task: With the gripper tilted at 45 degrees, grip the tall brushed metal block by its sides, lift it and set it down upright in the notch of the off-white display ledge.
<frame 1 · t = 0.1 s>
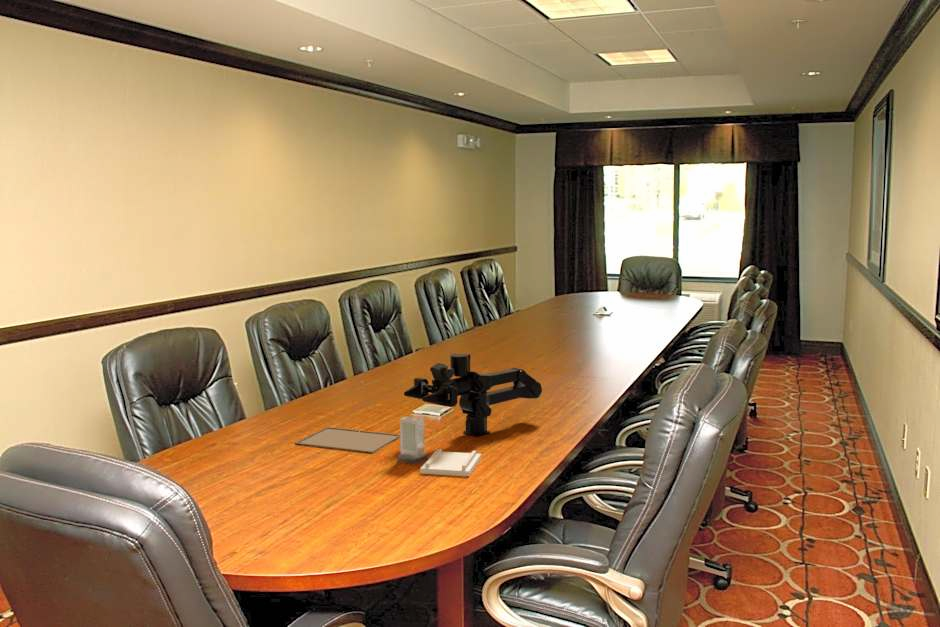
hand: (413, 396, 253), 17 cm above the table, tool horizontal, fingers open, 9 cm apart
grey flat bordered slab: (349, 442, 266), on the table
display ledge: (451, 465, 240), on the table
tall brushed metal block: (412, 460, 246), on the table
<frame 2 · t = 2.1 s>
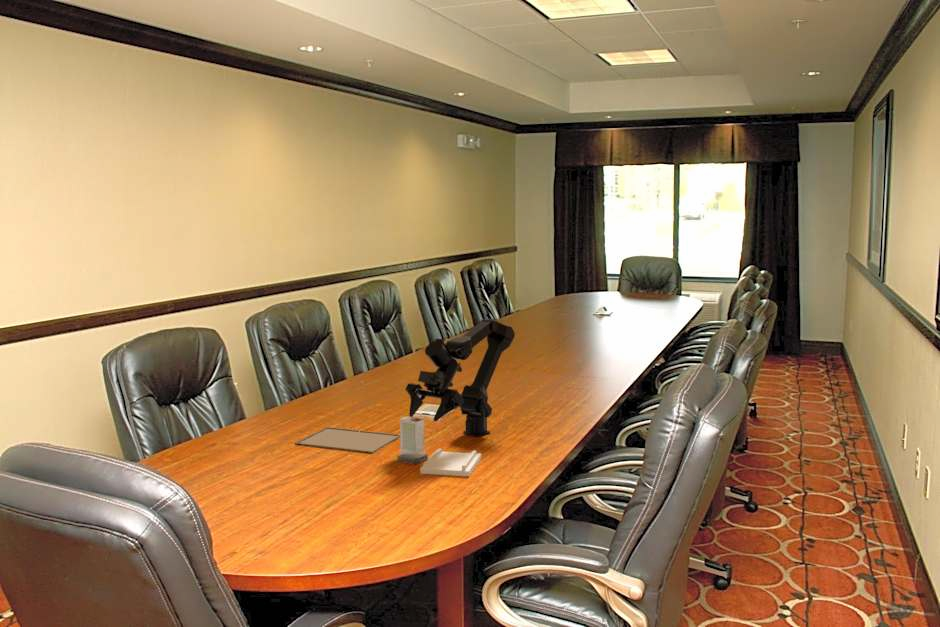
hand: (422, 418, 248), 11 cm above the table, tool tilted 45°, fingers open, 9 cm apart
nothing on the table moved.
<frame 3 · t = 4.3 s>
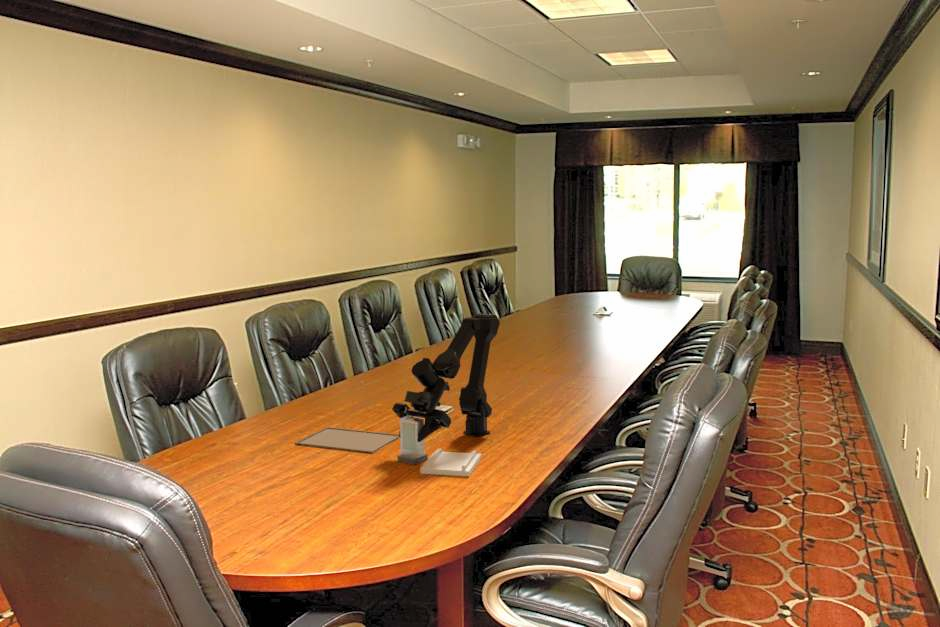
hand: (409, 439, 244), 7 cm above the table, tool tilted 45°, fingers closed on tall brushed metal block, 6 cm apart
tall brushed metal block: (412, 460, 246), on the table, touching gripper
everything else where it was.
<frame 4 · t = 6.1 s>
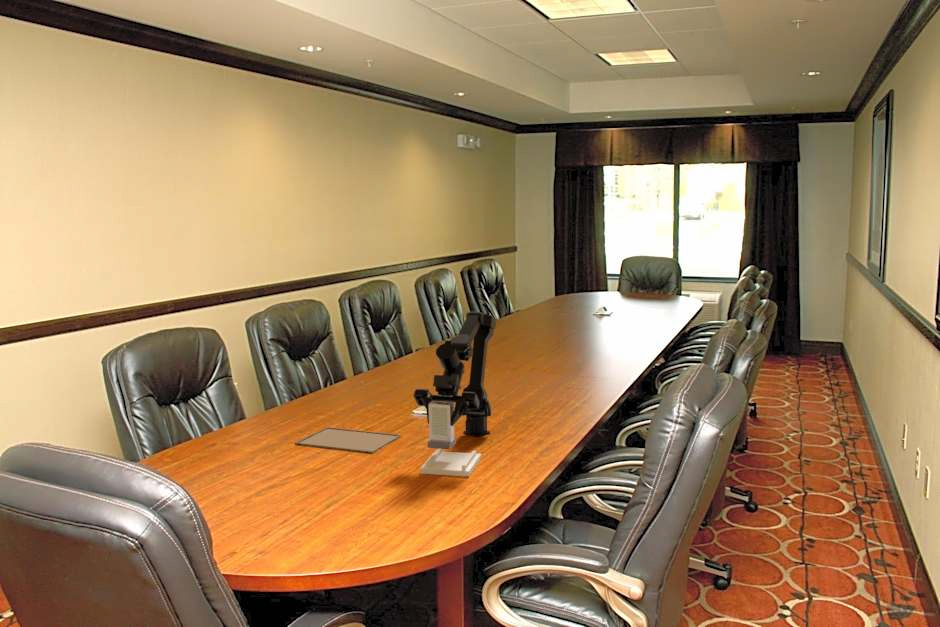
hand: (439, 424, 238), 12 cm above the table, tool tilted 45°, fingers closed on tall brushed metal block, 6 cm apart
tall brushed metal block: (441, 445, 240), point 6 cm above the table, touching gripper
everything else where it was.
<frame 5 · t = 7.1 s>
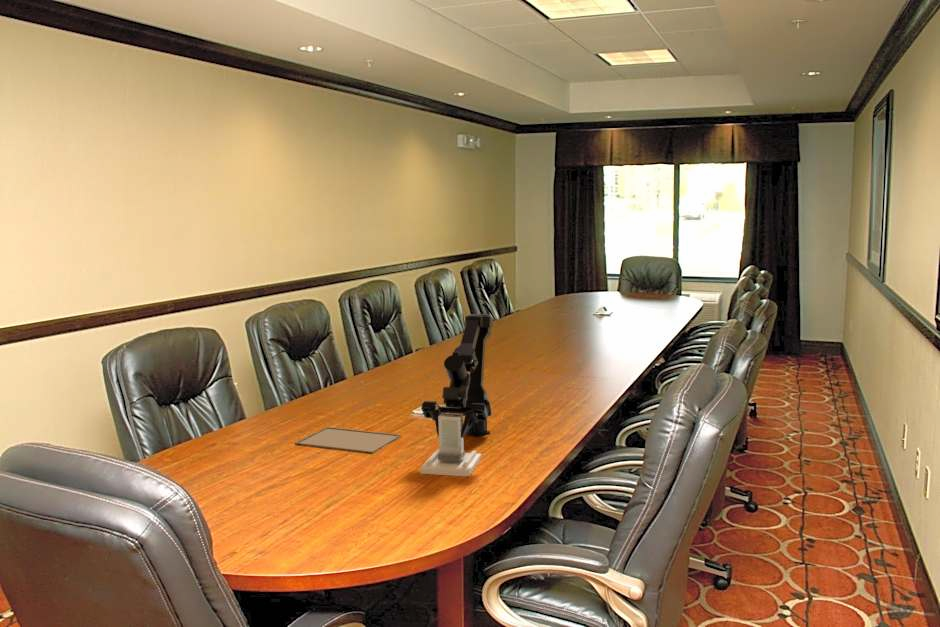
hand: (449, 436, 237), 9 cm above the table, tool tilted 45°, fingers closed on tall brushed metal block, 6 cm apart
tall brushed metal block: (451, 457, 240), point 2 cm above the table, touching gripper
everything else where it was.
when the fingers open (9 cm above the table, at t = 8.0 s): tall brushed metal block stays where it is, resting on display ledge.
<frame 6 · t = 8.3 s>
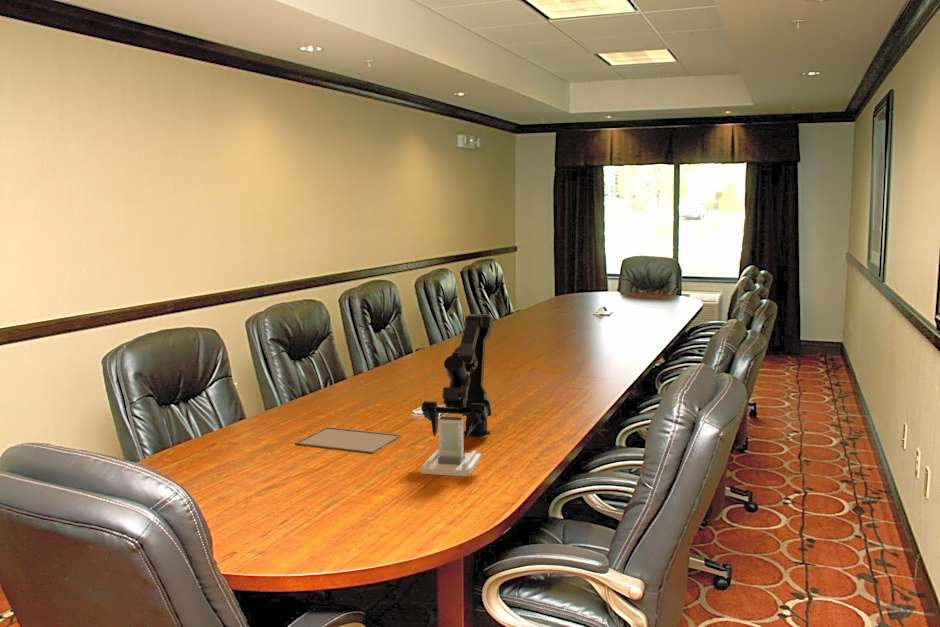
hand: (449, 436, 237), 9 cm above the table, tool tilted 45°, fingers open, 9 cm apart
tall brushed metal block: (451, 460, 240), point 1 cm above the table, touching display ledge
everything else where it was.
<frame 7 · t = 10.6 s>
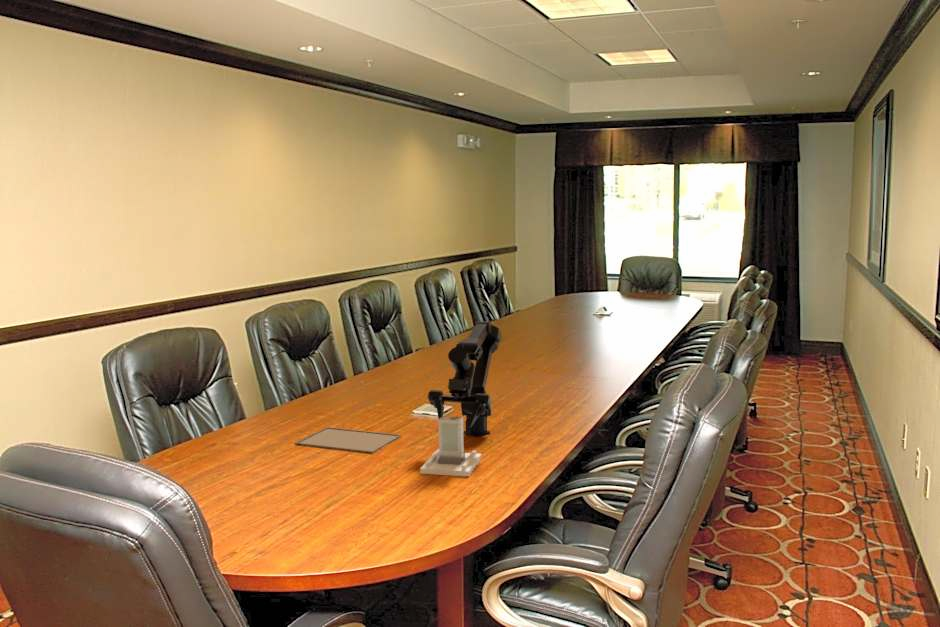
hand: (454, 425, 247), 9 cm above the table, tool tilted 40°, fingers open, 9 cm apart
nothing on the table moved.
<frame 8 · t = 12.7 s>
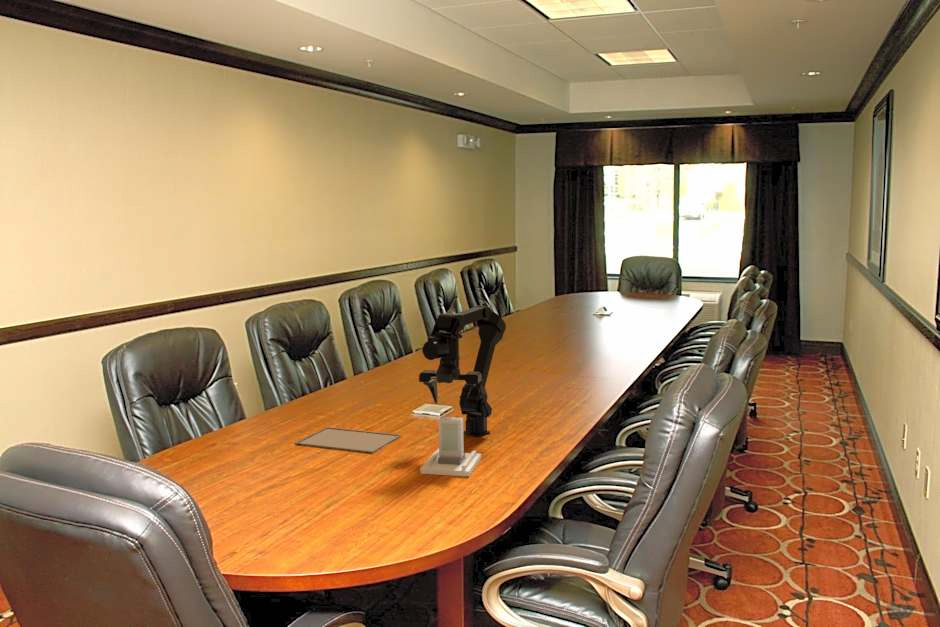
hand: (450, 404, 258), 13 cm above the table, tool pointing down, fingers open, 9 cm apart
nothing on the table moved.
at the end: tall brushed metal block 0.0 cm off-centre on the display ledge, point 1.5 cm above the display ledge's base; tall brushed metal block tilted 0°; the gripper is holding nothing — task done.
